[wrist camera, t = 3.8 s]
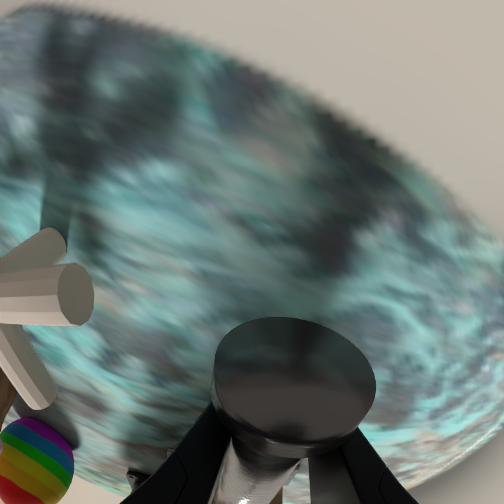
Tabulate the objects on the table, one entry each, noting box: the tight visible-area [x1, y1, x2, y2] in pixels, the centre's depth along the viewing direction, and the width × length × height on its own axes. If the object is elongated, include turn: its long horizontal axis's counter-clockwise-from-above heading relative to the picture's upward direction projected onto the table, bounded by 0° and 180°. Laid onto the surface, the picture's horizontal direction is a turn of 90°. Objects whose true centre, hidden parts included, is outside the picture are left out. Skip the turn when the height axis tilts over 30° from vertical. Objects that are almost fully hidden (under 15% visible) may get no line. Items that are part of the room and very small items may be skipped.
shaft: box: [211, 317, 376, 504], centre depth 11 cm, size 17×4×4 cm, turn 170°
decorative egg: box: [0, 418, 74, 504], centre depth 18 cm, size 8×8×10 cm
